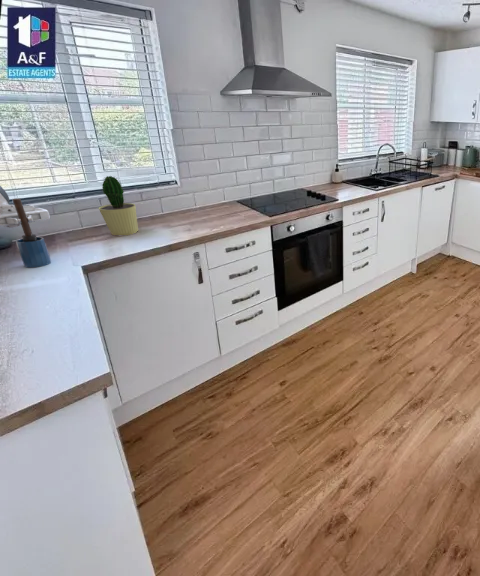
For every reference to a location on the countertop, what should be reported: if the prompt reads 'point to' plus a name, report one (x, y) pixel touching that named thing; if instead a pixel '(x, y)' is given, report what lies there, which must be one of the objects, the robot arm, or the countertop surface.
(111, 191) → the potted cactus
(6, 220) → the robot arm
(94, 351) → the countertop surface
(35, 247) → the blue ribbed tumbler
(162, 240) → the countertop surface
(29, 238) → the brush
